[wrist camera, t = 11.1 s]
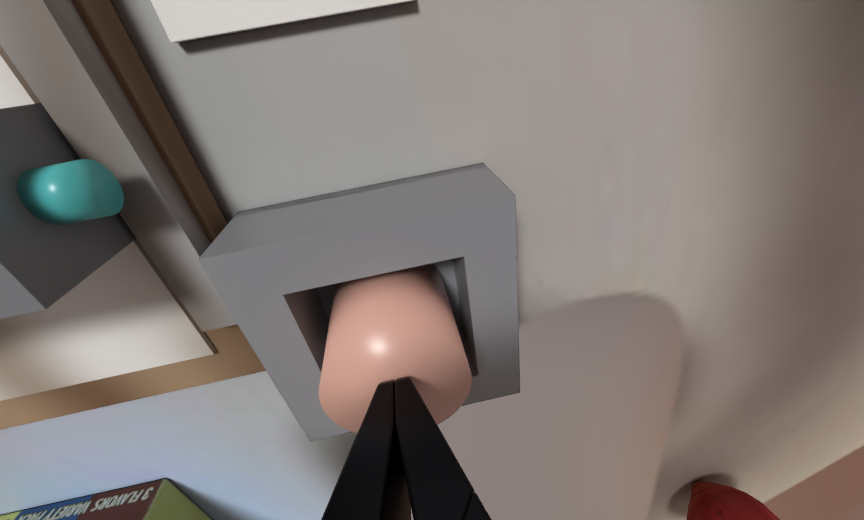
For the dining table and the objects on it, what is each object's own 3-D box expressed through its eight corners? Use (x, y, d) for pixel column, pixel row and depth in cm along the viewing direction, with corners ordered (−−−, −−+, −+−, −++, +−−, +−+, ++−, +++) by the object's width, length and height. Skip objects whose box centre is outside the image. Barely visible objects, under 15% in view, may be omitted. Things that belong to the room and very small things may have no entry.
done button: (436, 240, 11) (463, 319, 8) (451, 327, 14) (477, 418, 10) (317, 265, 11) (295, 356, 8) (351, 349, 13) (344, 449, 10)
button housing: (483, 162, 11) (515, 194, 9) (495, 336, 15) (520, 392, 13) (238, 211, 11) (197, 260, 8) (320, 376, 15) (310, 441, 13)
